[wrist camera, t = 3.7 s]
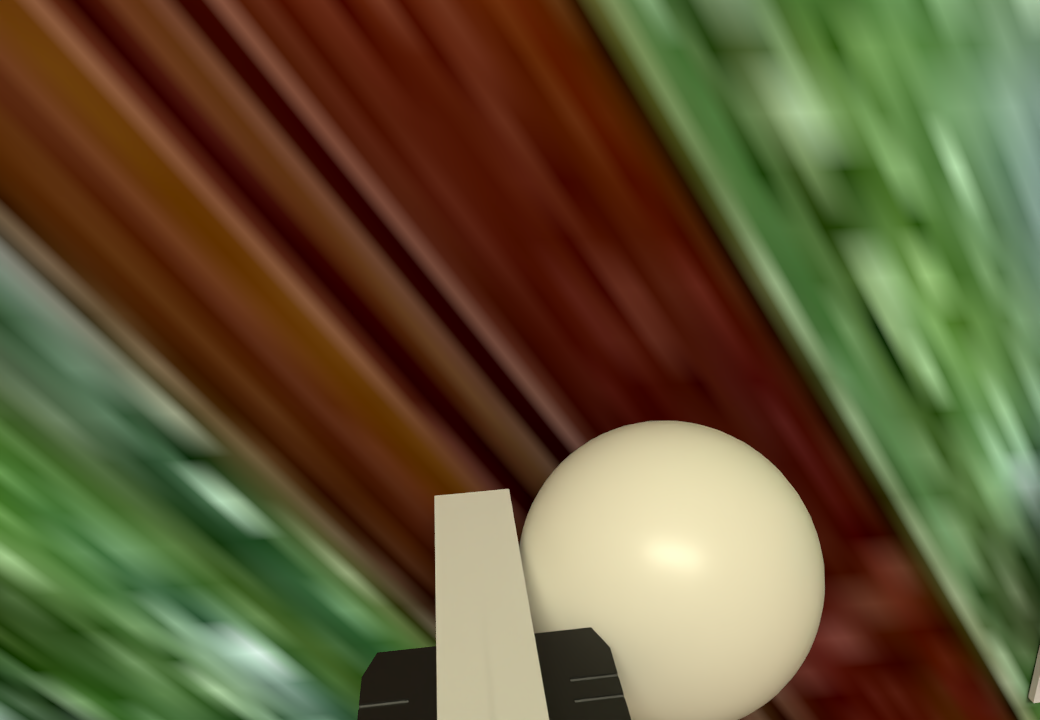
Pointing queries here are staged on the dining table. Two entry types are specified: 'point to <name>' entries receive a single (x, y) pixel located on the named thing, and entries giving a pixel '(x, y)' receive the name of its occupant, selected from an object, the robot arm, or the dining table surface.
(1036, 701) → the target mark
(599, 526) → the cue ball
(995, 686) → the dining table surface
